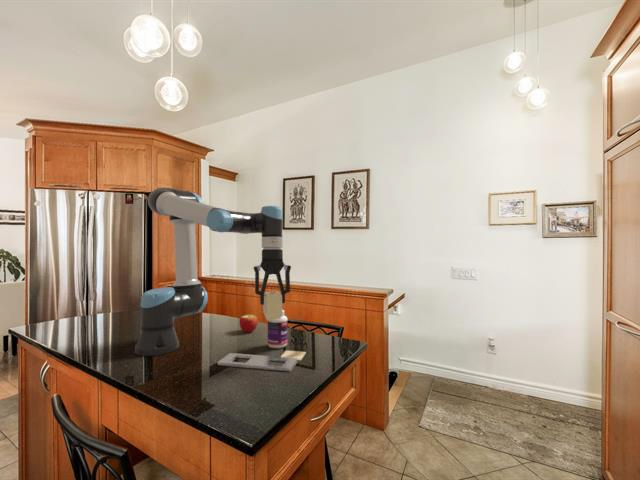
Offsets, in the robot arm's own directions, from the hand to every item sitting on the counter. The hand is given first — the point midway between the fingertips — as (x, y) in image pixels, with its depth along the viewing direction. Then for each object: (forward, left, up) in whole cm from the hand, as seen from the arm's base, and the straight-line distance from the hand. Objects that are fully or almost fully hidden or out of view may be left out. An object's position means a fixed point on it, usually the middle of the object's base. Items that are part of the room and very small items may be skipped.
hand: (272, 312), depth 111 cm
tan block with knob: (0, 0, -2) cm, 2 cm away
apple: (-23, +30, -17) cm, 42 cm away
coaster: (+6, +4, -17) cm, 18 cm away
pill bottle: (-3, +14, -17) cm, 22 cm away
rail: (-4, -5, -17) cm, 18 cm away
